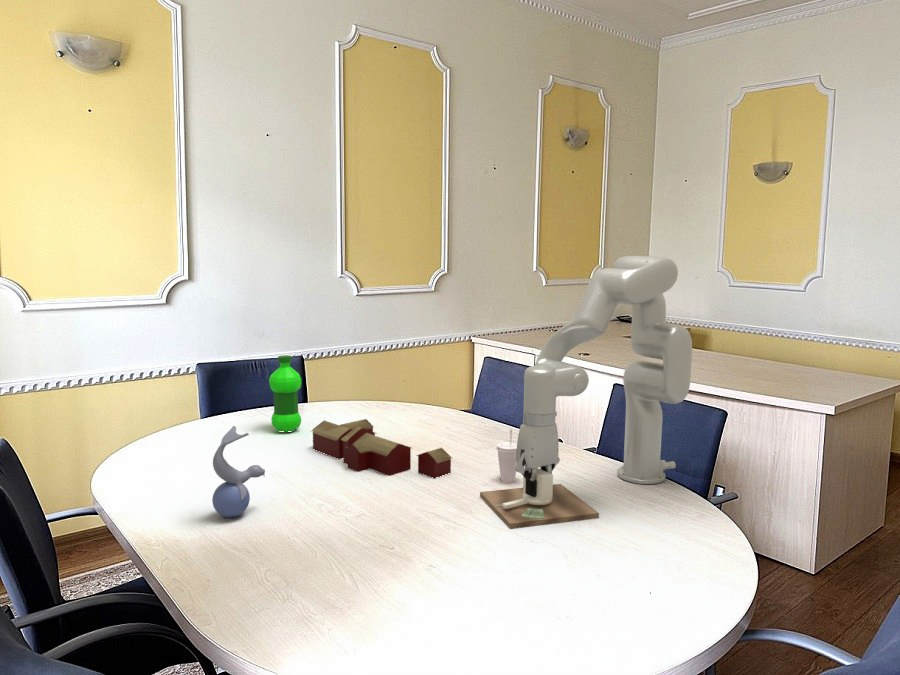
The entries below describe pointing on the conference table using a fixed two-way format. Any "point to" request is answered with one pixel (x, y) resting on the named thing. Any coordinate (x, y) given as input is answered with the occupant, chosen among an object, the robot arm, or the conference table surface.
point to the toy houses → (374, 450)
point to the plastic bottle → (285, 396)
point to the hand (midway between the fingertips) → (537, 492)
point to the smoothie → (507, 460)
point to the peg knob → (543, 491)
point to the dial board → (538, 508)
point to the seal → (232, 480)
